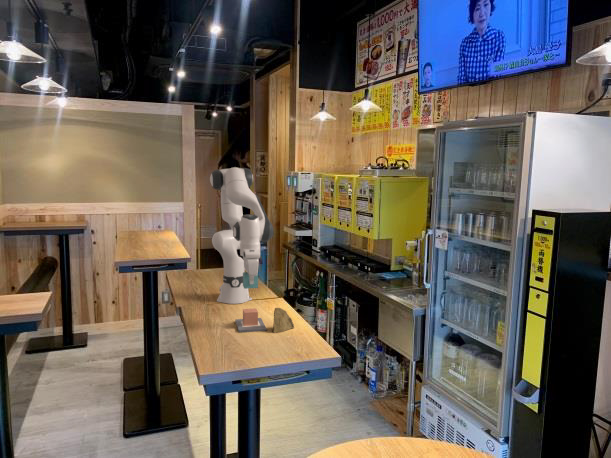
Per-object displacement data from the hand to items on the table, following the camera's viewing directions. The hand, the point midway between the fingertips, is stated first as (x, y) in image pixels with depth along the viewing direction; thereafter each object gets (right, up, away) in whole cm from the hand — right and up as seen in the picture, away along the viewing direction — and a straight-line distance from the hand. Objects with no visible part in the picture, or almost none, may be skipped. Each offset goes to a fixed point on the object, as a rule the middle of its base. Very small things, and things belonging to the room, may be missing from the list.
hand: (250, 282), depth 205 cm
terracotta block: (0, -19, +2) cm, 19 cm away
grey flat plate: (0, -20, +2) cm, 20 cm away
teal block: (0, -2, 0) cm, 2 cm away
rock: (+15, -21, -3) cm, 26 cm away
